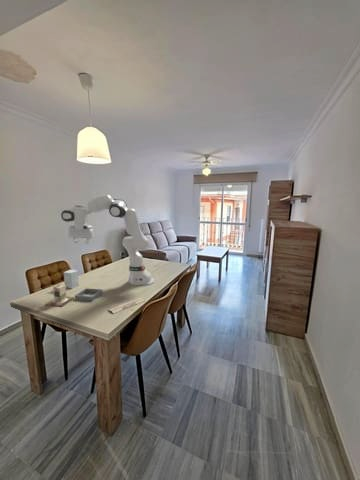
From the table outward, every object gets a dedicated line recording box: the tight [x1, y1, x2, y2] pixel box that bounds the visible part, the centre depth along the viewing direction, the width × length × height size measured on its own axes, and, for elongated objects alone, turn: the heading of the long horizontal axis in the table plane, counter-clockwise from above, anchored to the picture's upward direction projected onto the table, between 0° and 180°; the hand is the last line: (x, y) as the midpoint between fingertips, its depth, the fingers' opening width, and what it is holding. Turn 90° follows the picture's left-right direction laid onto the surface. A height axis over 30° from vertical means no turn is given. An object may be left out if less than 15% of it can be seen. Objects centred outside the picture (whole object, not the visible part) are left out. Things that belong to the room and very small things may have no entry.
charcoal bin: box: [74, 287, 103, 302], centre depth 144 cm, size 13×13×3 cm
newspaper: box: [107, 297, 145, 315], centre depth 132 cm, size 24×7×2 cm, turn 138°
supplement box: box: [63, 269, 80, 289], centre depth 161 cm, size 7×7×13 cm
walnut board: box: [44, 296, 75, 307], centre depth 136 cm, size 12×12×1 cm
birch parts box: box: [52, 284, 67, 302], centre depth 135 cm, size 5×5×10 cm
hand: (81, 243), depth 162 cm, fingers open, 8 cm apart
